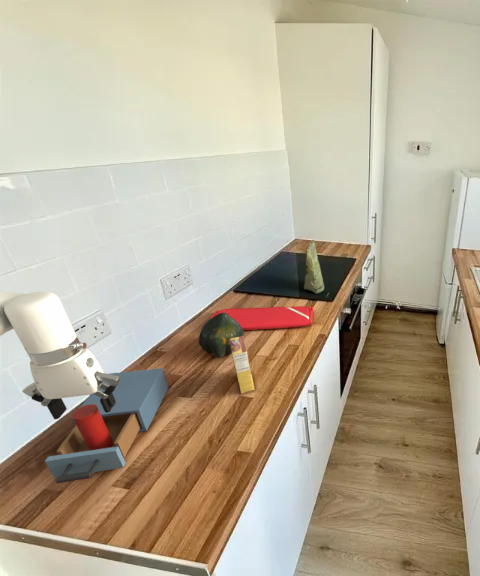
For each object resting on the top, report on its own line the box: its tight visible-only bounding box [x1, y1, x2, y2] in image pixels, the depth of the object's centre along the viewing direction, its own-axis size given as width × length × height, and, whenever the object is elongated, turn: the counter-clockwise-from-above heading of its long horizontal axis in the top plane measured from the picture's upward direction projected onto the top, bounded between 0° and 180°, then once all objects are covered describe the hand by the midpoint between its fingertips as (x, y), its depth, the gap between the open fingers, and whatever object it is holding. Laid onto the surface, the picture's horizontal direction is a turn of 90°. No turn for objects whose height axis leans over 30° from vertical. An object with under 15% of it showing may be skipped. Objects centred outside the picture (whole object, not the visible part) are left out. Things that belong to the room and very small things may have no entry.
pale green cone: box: [303, 239, 325, 294], centre depth 161 cm, size 11×12×25 cm
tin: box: [71, 404, 113, 451], centre depth 77 cm, size 4×4×12 cm
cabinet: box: [71, 367, 170, 433], centre depth 90 cm, size 17×15×8 cm
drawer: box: [44, 413, 141, 484], centre depth 78 cm, size 20×13×6 cm
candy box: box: [230, 336, 255, 395], centre depth 101 cm, size 9×4×15 cm, turn 28°
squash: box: [198, 312, 245, 359], centre depth 117 cm, size 14×15×15 cm
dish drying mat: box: [209, 305, 314, 331], centre depth 136 cm, size 16×41×4 cm, turn 98°
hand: (86, 411), depth 74 cm, fingers open, 9 cm apart
